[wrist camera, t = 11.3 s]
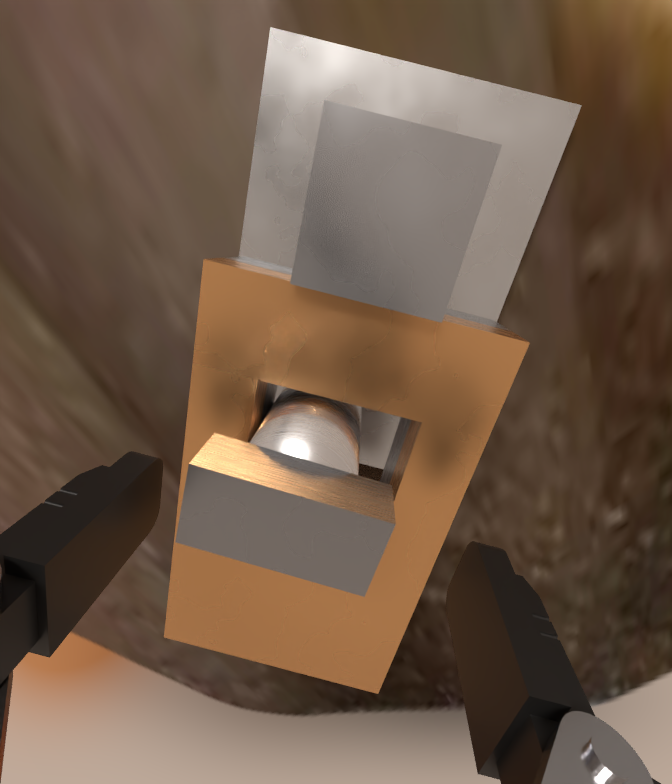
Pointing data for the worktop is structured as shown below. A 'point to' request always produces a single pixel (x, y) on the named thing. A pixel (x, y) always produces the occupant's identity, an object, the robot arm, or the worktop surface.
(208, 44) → the worktop surface
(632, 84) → the worktop surface
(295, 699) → the worktop surface
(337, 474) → the pin
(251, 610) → the latch clamp bracket
